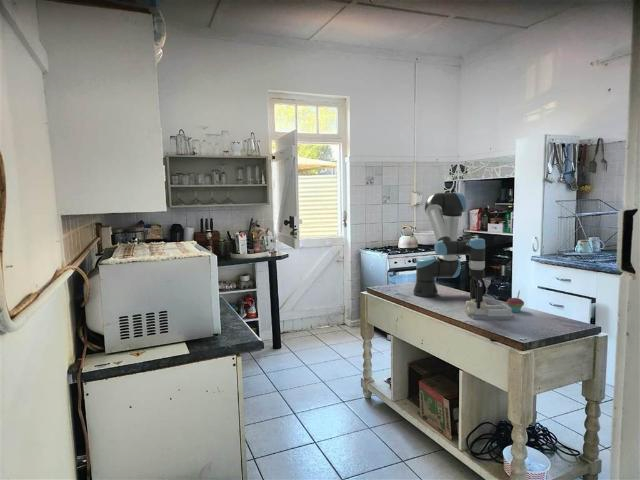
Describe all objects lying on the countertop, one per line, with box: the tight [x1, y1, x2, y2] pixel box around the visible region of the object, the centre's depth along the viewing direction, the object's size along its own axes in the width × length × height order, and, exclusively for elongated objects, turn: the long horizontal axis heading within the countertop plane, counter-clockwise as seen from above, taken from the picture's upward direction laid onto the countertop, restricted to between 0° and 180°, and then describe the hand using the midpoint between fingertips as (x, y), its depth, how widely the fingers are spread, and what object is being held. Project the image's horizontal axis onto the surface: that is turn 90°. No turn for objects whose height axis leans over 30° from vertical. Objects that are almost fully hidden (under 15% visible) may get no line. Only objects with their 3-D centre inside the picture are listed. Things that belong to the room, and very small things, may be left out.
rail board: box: [464, 302, 515, 321], centre depth 216 cm, size 14×20×5 cm
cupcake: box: [506, 289, 525, 313], centre depth 223 cm, size 9×8×12 cm
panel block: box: [465, 300, 488, 316], centre depth 216 cm, size 5×9×6 cm, turn 88°
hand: (475, 312), depth 216 cm, fingers open, 5 cm apart
